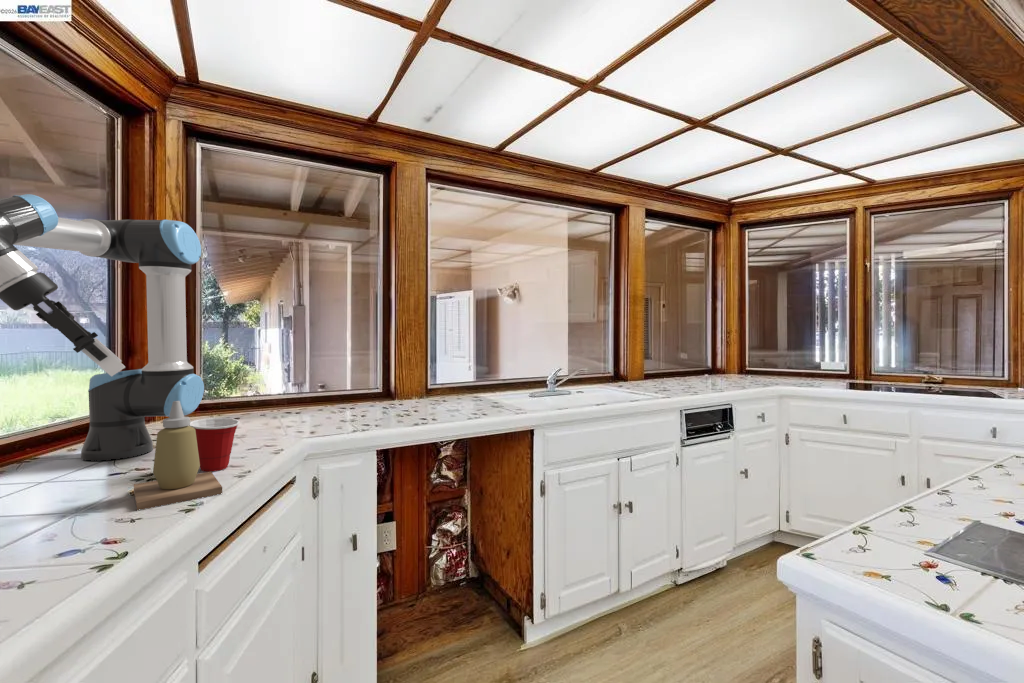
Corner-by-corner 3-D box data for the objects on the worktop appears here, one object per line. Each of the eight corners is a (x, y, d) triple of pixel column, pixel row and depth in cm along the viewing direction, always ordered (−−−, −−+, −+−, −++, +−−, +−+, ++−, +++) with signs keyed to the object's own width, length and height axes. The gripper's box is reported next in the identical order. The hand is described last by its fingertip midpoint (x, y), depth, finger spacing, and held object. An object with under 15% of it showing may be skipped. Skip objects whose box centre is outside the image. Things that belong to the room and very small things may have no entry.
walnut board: (133, 491, 98) (133, 484, 98) (211, 477, 108) (211, 471, 107) (136, 510, 88) (136, 502, 88) (222, 493, 97) (222, 486, 97)
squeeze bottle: (163, 495, 92) (162, 405, 92) (146, 487, 96) (145, 402, 96) (207, 483, 99) (206, 400, 98) (189, 477, 103) (189, 397, 103)
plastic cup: (215, 476, 108) (215, 426, 108) (177, 473, 111) (176, 424, 110) (250, 463, 119) (250, 417, 119) (214, 461, 121) (214, 416, 121)
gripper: (4, 295, 91) (97, 374, 100) (-18, 292, 72) (99, 388, 82) (45, 273, 94) (131, 351, 104) (35, 265, 76) (140, 361, 86)
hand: (117, 368), depth 93 cm, fingers open, 13 cm apart
